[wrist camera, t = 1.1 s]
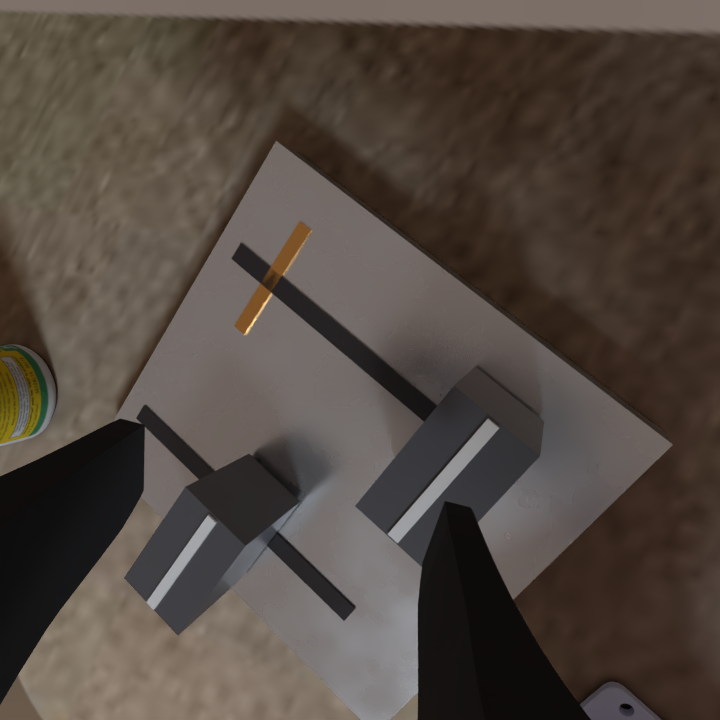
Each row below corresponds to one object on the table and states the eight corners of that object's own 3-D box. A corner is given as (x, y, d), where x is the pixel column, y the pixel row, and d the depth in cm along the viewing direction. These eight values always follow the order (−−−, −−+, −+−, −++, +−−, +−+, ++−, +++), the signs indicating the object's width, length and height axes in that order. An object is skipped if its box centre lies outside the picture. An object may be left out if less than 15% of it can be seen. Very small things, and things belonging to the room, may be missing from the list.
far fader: (300, 501, 22) (243, 547, 18) (240, 579, 24) (176, 637, 20) (249, 453, 23) (183, 487, 19) (193, 532, 25) (121, 579, 21)
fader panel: (662, 430, 20) (673, 445, 18) (388, 700, 25) (374, 735, 23) (299, 152, 23) (274, 140, 21) (126, 440, 28) (94, 451, 26)
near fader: (544, 421, 19) (540, 456, 15) (454, 519, 20) (428, 576, 16) (475, 366, 19) (453, 386, 15) (393, 465, 21) (353, 507, 17)
